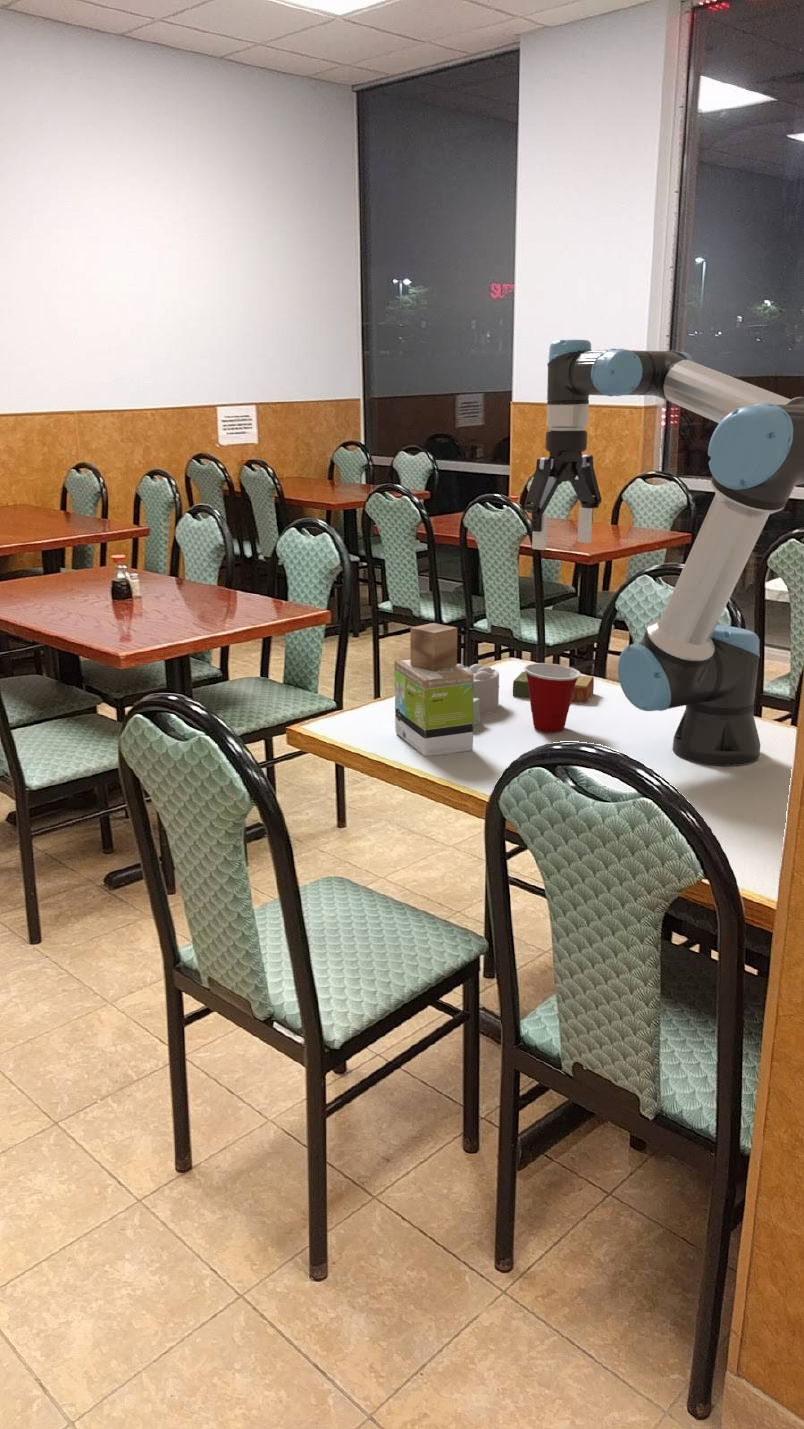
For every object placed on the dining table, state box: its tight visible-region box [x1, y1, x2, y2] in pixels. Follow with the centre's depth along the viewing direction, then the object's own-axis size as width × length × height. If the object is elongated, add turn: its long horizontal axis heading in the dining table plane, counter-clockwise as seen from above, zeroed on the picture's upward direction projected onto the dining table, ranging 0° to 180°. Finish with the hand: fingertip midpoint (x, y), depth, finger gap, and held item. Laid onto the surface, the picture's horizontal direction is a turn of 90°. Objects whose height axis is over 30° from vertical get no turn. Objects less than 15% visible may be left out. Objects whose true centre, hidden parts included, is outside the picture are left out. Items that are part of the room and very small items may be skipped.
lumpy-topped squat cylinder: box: [457, 663, 500, 716], centre depth 223 cm, size 10×13×9 cm
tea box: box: [393, 659, 474, 758], centre depth 199 cm, size 15×10×15 cm, turn 22°
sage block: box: [473, 698, 480, 727], centre depth 212 cm, size 5×5×5 cm
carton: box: [512, 671, 595, 704], centre depth 232 cm, size 8×16×4 cm, turn 71°
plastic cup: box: [523, 662, 582, 734], centre depth 208 cm, size 11×11×12 cm
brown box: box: [409, 622, 458, 671], centre depth 197 cm, size 6×6×7 cm
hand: (562, 546), depth 204 cm, fingers open, 13 cm apart
